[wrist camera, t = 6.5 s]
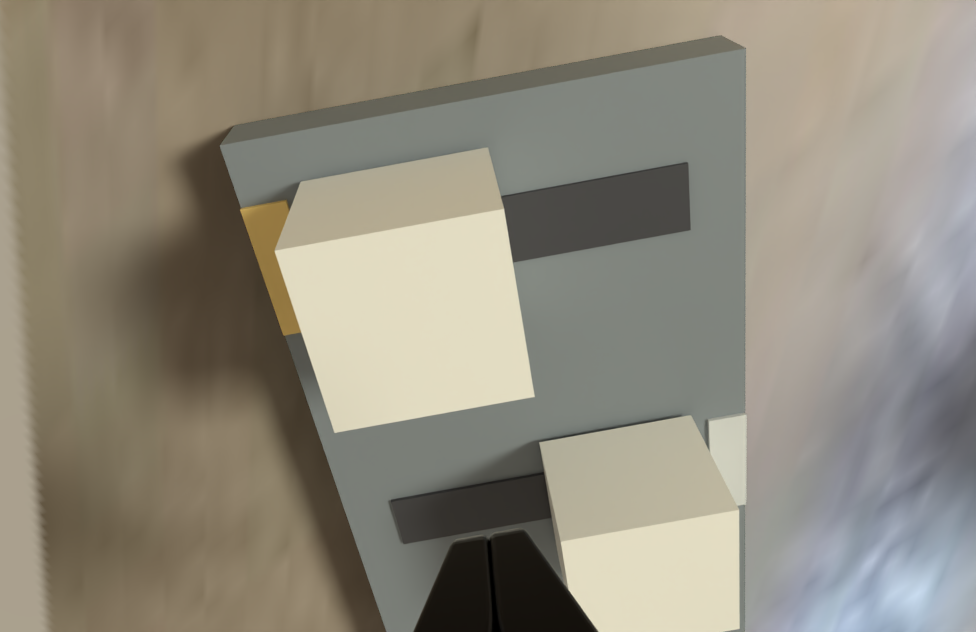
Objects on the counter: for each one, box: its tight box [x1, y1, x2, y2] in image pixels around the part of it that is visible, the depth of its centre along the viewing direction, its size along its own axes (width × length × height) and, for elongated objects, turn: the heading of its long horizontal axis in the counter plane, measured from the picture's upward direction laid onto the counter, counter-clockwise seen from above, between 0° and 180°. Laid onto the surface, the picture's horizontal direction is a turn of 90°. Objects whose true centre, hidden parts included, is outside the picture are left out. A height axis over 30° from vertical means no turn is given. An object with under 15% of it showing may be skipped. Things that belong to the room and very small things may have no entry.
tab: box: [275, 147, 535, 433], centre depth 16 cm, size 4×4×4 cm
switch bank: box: [220, 36, 747, 632], centre depth 22 cm, size 11×22×2 cm, turn 9°
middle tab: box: [539, 415, 740, 632], centre depth 20 cm, size 4×4×4 cm
